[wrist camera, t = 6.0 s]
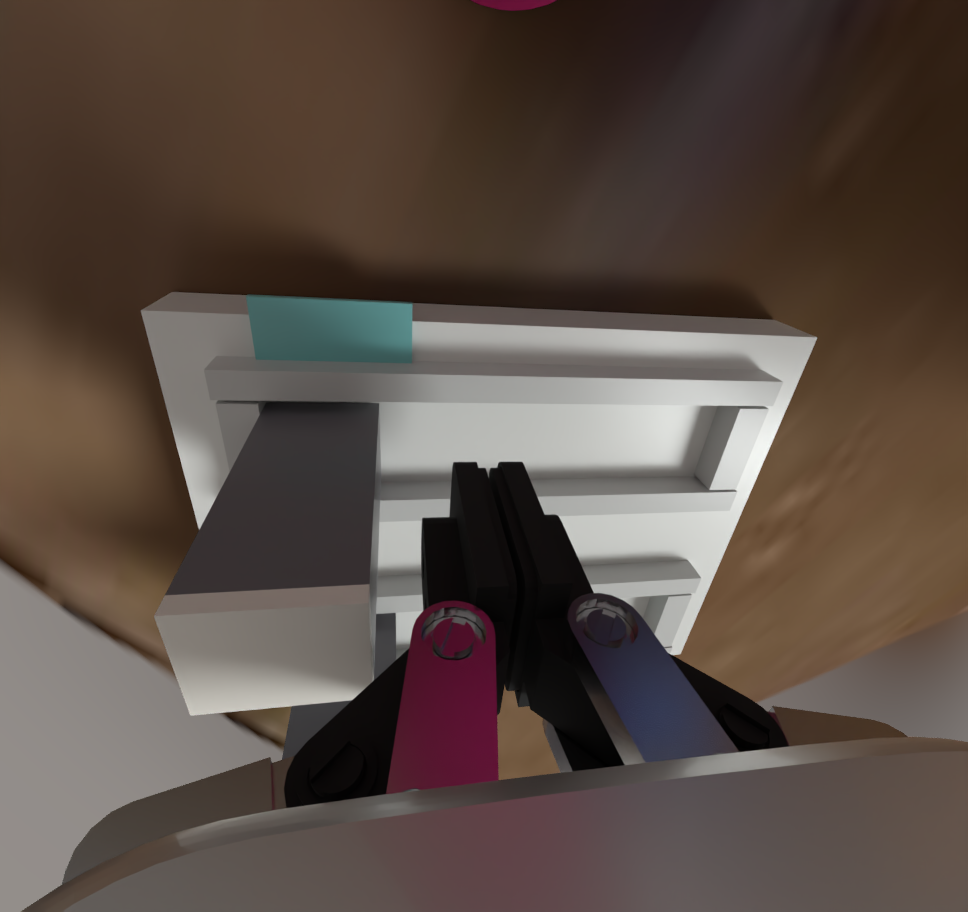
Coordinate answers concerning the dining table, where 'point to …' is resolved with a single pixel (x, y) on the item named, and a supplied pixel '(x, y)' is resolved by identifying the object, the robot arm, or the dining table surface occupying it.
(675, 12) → the dining table surface
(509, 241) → the dining table surface
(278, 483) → the tab
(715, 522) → the switch board
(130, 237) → the dining table surface
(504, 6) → the pepper mill
